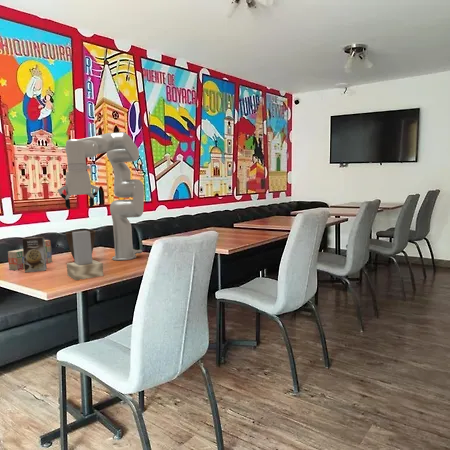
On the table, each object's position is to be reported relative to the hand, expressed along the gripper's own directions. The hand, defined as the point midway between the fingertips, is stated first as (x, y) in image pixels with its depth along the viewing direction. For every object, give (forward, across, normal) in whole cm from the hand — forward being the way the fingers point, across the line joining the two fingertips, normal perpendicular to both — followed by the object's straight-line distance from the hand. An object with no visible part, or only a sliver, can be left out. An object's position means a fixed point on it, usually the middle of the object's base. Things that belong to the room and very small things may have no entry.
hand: (80, 208), depth 182 cm
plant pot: (+30, -8, -38) cm, 49 cm away
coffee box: (+30, +16, -30) cm, 46 cm away
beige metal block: (+31, 0, 0) cm, 31 cm away
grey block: (+24, 0, 0) cm, 24 cm away
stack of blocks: (+31, +16, -45) cm, 57 cm away
